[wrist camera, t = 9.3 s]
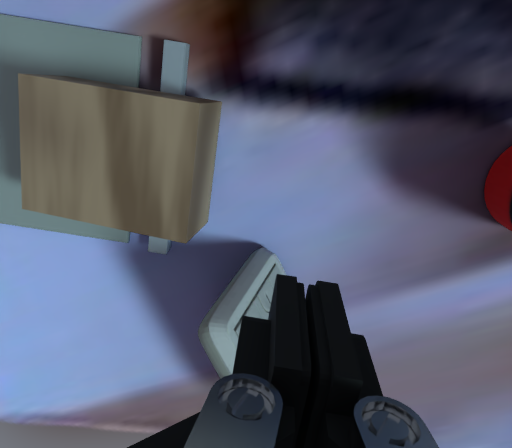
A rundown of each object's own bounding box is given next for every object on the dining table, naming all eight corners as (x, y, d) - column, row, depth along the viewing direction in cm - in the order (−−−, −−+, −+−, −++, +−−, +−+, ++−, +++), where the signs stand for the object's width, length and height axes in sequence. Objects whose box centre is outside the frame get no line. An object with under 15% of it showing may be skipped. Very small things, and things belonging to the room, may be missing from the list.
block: (200, 103, 25) (13, 72, 27) (185, 243, 28) (18, 208, 30) (221, 101, 30) (61, 75, 32) (207, 222, 33) (61, 192, 35)
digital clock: (339, 392, 40) (361, 497, 30) (245, 407, 41) (237, 513, 31) (306, 234, 35) (319, 295, 25) (201, 255, 36) (174, 322, 26)
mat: (141, 37, 31) (140, 36, 31) (129, 241, 36) (127, 242, 36) (-24, 10, 31) (-28, 9, 30) (-13, 219, 36) (-16, 220, 36)
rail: (189, 44, 31) (185, 43, 30) (170, 247, 36) (166, 254, 35) (169, 41, 31) (164, 39, 30) (152, 244, 36) (147, 251, 35)
